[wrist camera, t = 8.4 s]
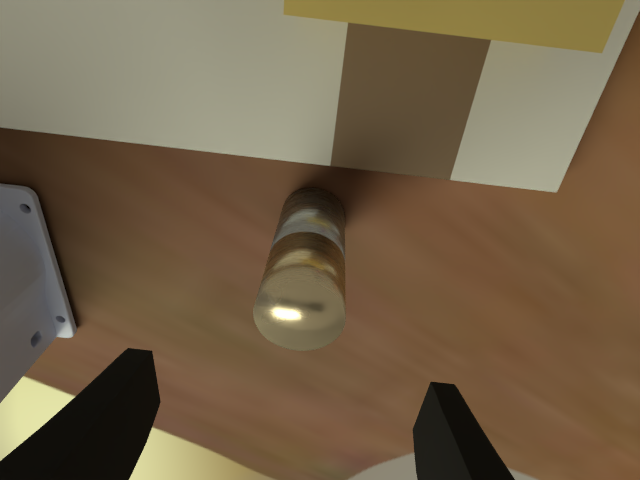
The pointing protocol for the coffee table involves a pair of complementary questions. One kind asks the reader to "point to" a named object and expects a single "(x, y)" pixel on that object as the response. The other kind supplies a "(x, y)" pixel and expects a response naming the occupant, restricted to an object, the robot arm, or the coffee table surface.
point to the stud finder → (480, 18)
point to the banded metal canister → (305, 274)
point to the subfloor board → (300, 87)
